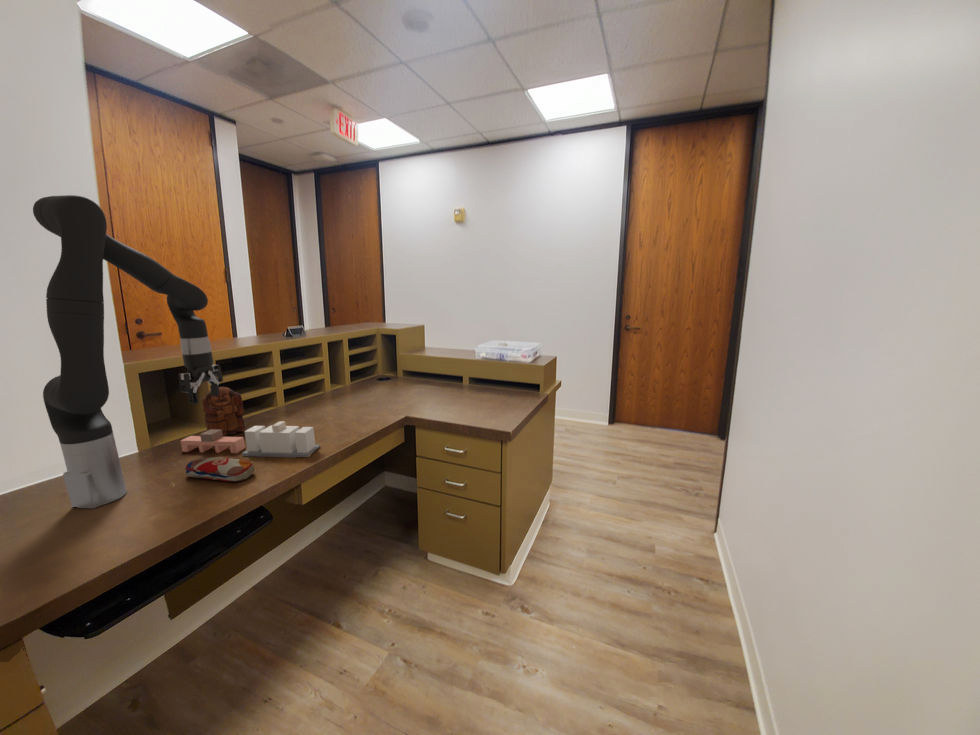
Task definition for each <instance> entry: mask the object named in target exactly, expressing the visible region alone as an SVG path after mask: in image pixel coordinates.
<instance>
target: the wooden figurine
mask: <svg viewBox="0 0 980 735" xmlns="http://www.w3.org/2000/svg"><path fill="white" fill-rule="evenodd" d="M202 406H203V407H202V408H203V412H204V413H205V414H204V421H205V427H206V431H208V430H210V429H220V430H222V434H223V437H229V436H233V435H237V434H238V433H241V432H244V431H246V426H245V421H244V415H245V410H244V409H245V408H244V403H243V397H242V395H241V393H239V392H236V391H234V390H233V389H231V388H229V387H228V386H227V387H226V386H219V396H212V394H211V389H210V390H209V391H208V392H207V393H205V396H204V398H203V399H202ZM244 433H245V432H244Z"/></svg>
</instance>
